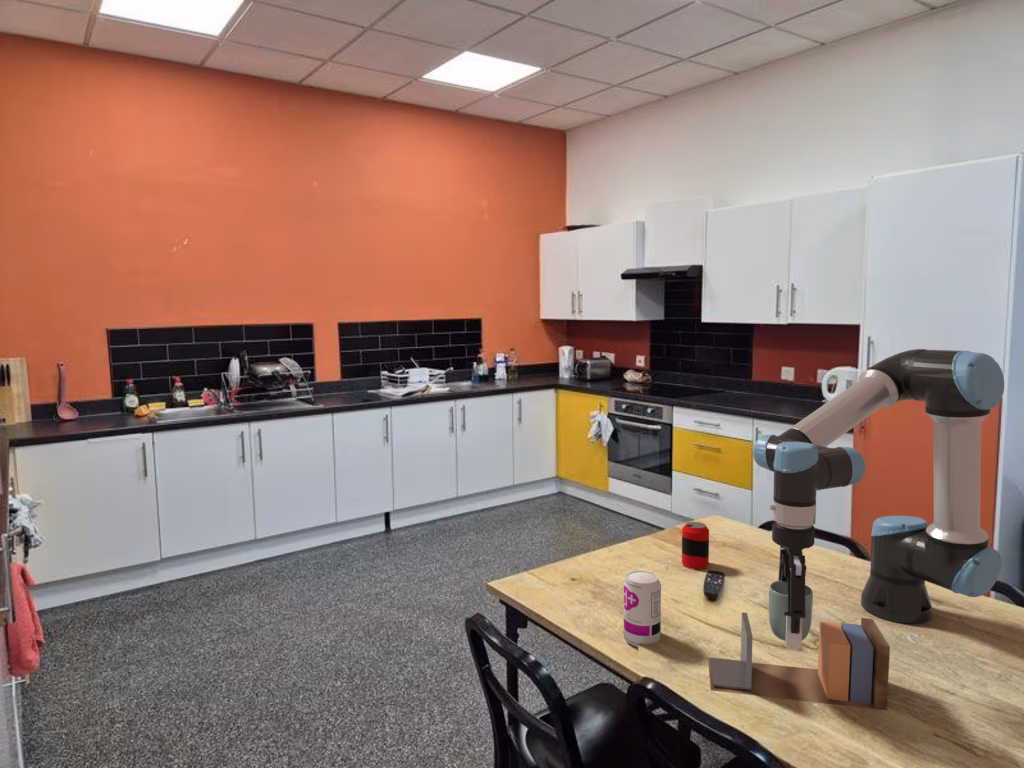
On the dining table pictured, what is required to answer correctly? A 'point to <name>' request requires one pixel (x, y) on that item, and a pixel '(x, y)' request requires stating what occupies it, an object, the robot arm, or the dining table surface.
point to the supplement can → (642, 608)
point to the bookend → (735, 663)
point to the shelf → (808, 683)
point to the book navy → (859, 663)
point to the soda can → (695, 545)
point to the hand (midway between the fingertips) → (789, 636)
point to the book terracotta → (833, 660)
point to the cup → (786, 609)
